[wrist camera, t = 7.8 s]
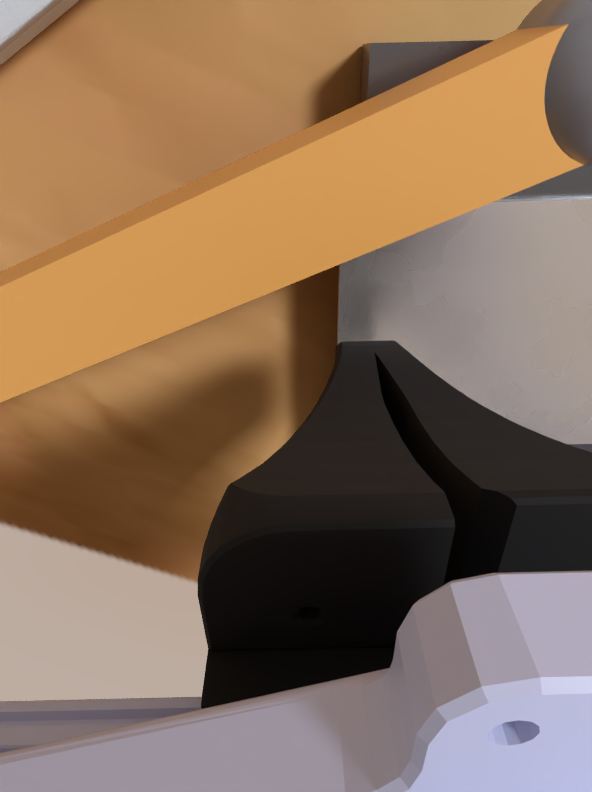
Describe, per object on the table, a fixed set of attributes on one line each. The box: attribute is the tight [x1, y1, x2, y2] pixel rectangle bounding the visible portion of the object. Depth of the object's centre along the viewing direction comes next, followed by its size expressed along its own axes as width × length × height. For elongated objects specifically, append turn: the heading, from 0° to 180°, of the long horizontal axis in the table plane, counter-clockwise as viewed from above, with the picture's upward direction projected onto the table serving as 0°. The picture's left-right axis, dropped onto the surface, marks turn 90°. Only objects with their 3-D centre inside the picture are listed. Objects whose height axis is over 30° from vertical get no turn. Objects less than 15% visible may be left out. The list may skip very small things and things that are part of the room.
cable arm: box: [0, 0, 592, 402], centre depth 10 cm, size 15×3×2 cm, turn 113°
